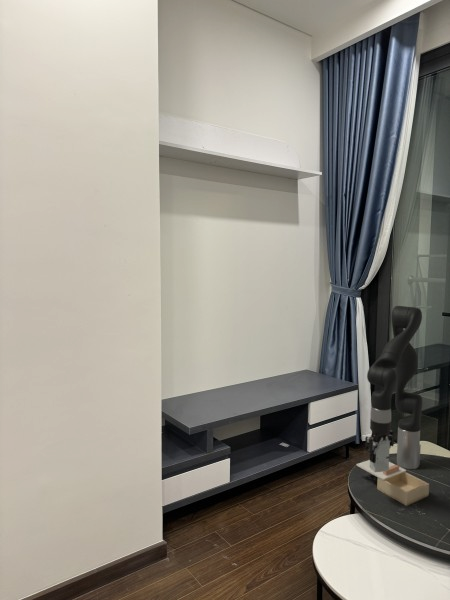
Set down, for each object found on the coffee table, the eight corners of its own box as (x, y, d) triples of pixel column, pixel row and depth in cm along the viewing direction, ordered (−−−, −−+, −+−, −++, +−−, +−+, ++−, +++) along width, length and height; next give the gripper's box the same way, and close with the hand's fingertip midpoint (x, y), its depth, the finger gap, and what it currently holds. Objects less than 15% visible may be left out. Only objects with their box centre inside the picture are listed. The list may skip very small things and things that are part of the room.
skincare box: (375, 473, 162) (376, 442, 160) (368, 467, 166) (369, 437, 165) (389, 471, 163) (390, 440, 162) (382, 465, 167) (383, 436, 166)
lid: (378, 457, 188) (378, 452, 188) (406, 471, 176) (406, 465, 176) (356, 465, 181) (356, 459, 181) (383, 480, 169) (383, 474, 169)
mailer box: (399, 480, 179) (399, 469, 179) (428, 495, 167) (429, 483, 167) (377, 489, 172) (377, 477, 172) (406, 506, 161) (406, 493, 160)
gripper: (375, 425, 155) (374, 468, 157) (401, 417, 163) (399, 459, 164) (359, 419, 162) (358, 460, 164) (385, 411, 169) (384, 451, 171)
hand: (379, 459), depth 164 cm, fingers closed on skincare box, 7 cm apart
